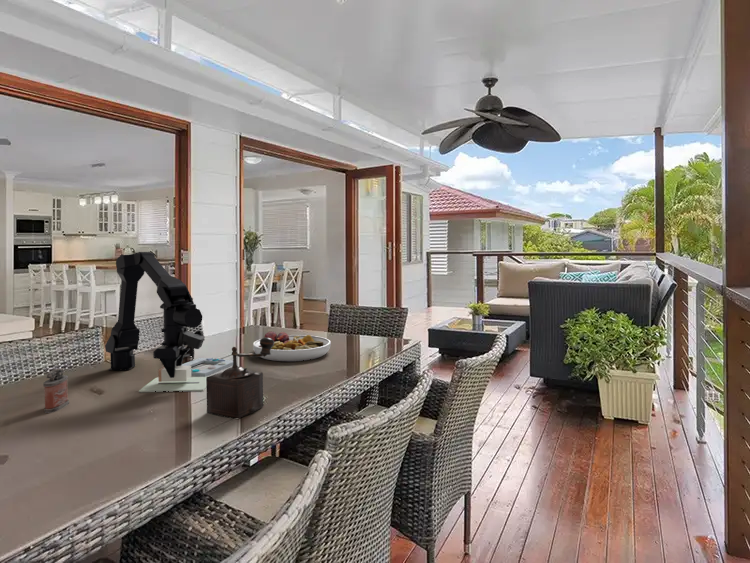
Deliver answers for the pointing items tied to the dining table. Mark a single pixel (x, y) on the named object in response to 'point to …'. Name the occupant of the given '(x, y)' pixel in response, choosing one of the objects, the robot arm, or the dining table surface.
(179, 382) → the mat
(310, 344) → the bowl
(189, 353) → the sunglasses
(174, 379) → the block
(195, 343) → the robot arm
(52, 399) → the lighter
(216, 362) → the electronic device
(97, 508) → the dining table surface
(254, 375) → the manual coffee grinder
